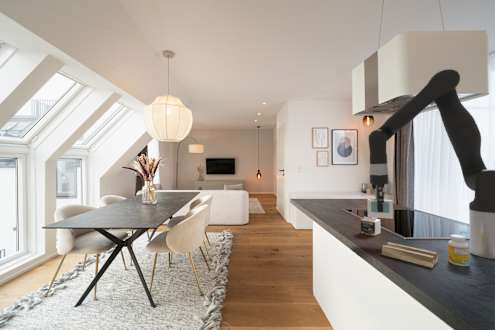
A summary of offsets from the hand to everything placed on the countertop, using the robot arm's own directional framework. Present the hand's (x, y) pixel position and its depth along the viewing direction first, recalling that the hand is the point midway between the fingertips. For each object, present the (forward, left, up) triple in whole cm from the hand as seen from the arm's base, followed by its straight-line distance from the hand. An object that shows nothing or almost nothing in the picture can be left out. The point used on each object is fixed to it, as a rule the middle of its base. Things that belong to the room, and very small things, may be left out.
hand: (380, 211), depth 106 cm
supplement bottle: (+4, +27, -14) cm, 31 cm away
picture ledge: (+11, +14, -14) cm, 23 cm away
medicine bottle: (-12, -9, -14) cm, 21 cm away
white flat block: (0, 0, -3) cm, 3 cm away
